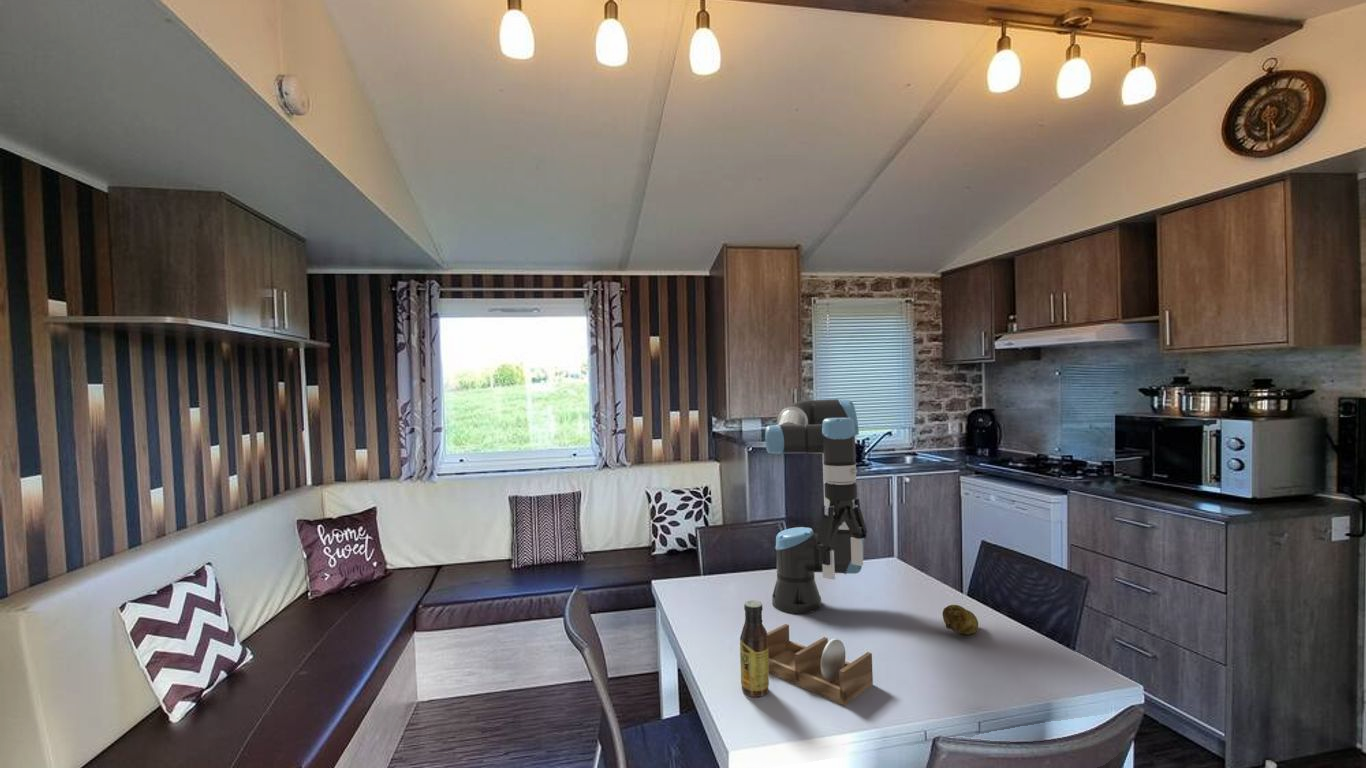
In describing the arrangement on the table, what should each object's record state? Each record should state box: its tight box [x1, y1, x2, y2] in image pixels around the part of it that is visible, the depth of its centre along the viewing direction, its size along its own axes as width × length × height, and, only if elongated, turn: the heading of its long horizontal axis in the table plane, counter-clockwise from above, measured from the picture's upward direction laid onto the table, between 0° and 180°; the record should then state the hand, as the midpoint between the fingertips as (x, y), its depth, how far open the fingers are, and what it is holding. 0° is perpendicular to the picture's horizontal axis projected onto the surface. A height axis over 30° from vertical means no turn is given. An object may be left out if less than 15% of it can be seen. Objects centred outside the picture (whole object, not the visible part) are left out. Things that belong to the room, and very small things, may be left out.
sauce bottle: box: [739, 599, 770, 698], centre depth 126 cm, size 7×6×20 cm
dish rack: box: [767, 623, 874, 706], centre depth 132 cm, size 24×12×10 cm, turn 43°
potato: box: [942, 604, 979, 636], centre depth 153 cm, size 8×13×8 cm, turn 114°
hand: (843, 571), depth 134 cm, fingers open, 13 cm apart
